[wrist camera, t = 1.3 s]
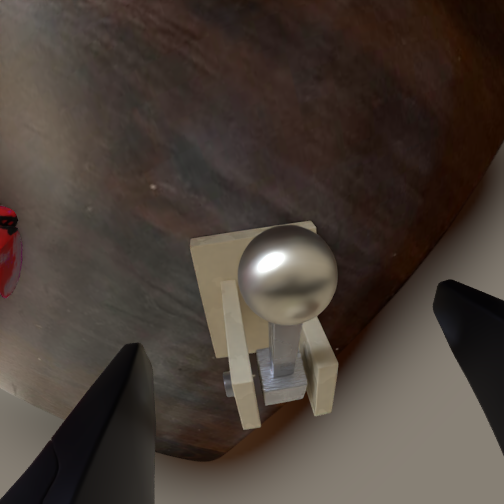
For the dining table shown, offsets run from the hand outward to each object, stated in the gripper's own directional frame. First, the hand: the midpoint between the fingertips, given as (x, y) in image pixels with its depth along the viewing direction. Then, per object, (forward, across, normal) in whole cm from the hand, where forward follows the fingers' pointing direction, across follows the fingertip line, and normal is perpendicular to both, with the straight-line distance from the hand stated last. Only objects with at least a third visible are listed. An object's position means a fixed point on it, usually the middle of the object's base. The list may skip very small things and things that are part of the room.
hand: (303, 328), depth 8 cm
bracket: (+13, 0, +8) cm, 16 cm away
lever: (+5, 0, +3) cm, 6 cm away
